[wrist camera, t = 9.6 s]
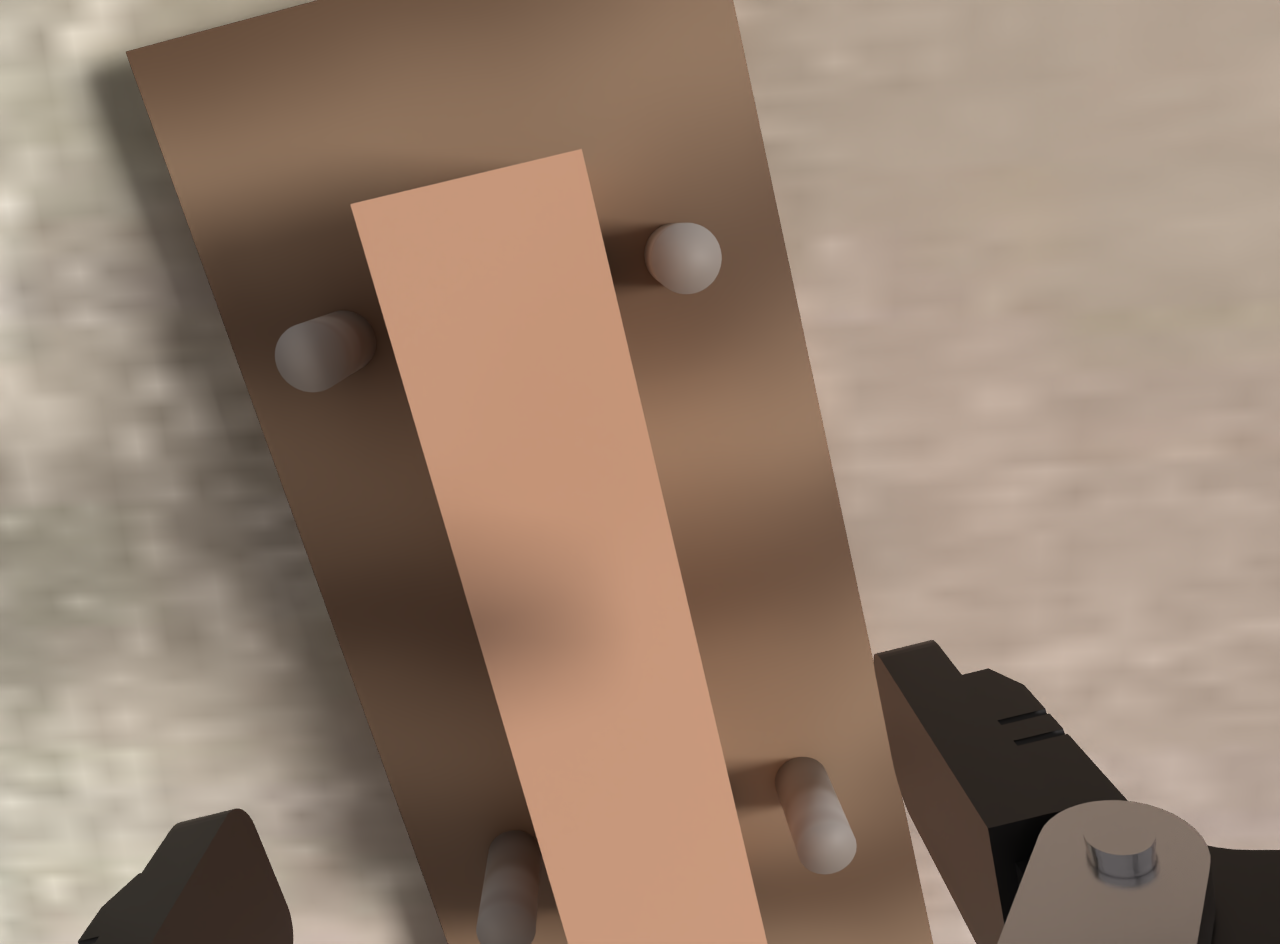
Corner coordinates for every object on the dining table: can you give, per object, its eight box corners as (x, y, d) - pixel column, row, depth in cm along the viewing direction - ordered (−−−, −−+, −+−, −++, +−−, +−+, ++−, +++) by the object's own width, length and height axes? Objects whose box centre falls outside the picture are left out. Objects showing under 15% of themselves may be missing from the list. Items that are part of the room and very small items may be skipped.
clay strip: (405, 209, 19) (350, 204, 14) (583, 166, 19) (581, 149, 14) (601, 905, 23) (604, 1066, 18) (748, 871, 23) (786, 1024, 18)
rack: (160, 64, 19) (52, 25, 16) (701, -81, 19) (729, -158, 15) (503, 1034, 25) (488, 1180, 21) (918, 929, 25) (978, 1057, 21)
